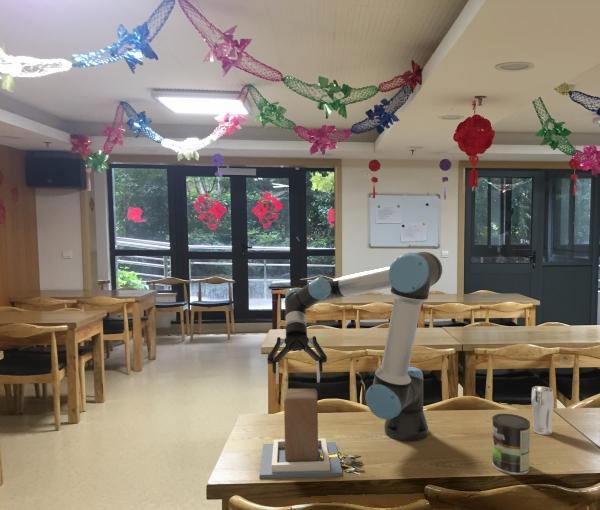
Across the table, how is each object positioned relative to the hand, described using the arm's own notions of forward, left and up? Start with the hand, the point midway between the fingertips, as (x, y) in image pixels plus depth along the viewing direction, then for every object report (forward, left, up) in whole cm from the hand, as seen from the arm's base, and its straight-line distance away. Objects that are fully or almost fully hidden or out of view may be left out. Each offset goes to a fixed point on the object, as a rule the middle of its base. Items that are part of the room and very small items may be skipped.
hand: (298, 381), depth 152 cm
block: (-2, +8, -21) cm, 23 cm away
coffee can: (-65, +5, -22) cm, 69 cm away
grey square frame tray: (-2, +9, -22) cm, 24 cm away
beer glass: (-83, -22, -22) cm, 88 cm away
